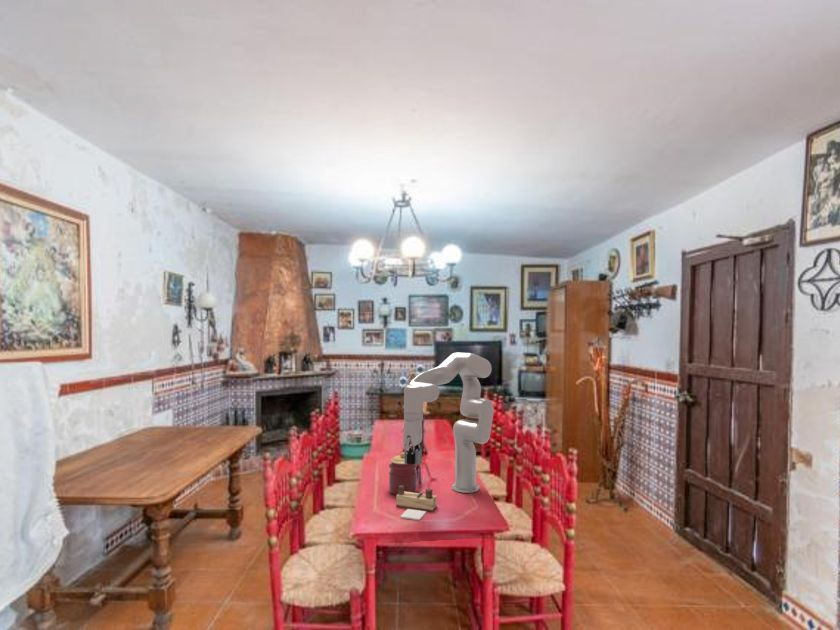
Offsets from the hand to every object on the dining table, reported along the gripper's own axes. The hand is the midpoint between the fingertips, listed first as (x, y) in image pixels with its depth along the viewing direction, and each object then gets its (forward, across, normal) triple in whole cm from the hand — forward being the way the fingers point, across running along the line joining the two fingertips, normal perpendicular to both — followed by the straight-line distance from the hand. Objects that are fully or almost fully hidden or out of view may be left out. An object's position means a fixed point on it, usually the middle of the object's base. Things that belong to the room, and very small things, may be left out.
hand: (413, 461), depth 186 cm
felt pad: (+21, 0, 0) cm, 21 cm away
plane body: (+21, -9, -2) cm, 23 cm away
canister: (+22, -23, -14) cm, 35 cm away
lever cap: (0, 0, 0) cm, 0 cm away
